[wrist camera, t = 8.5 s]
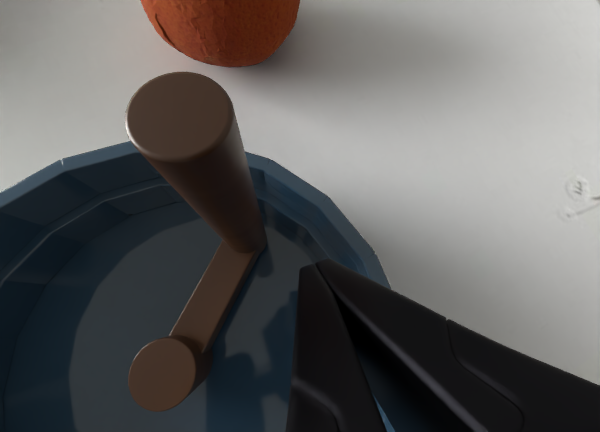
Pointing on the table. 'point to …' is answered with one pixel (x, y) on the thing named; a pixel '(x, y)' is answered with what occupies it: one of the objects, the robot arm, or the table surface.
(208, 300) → the crank handle
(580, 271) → the table surface
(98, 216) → the bowl
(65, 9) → the table surface
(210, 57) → the fruit
